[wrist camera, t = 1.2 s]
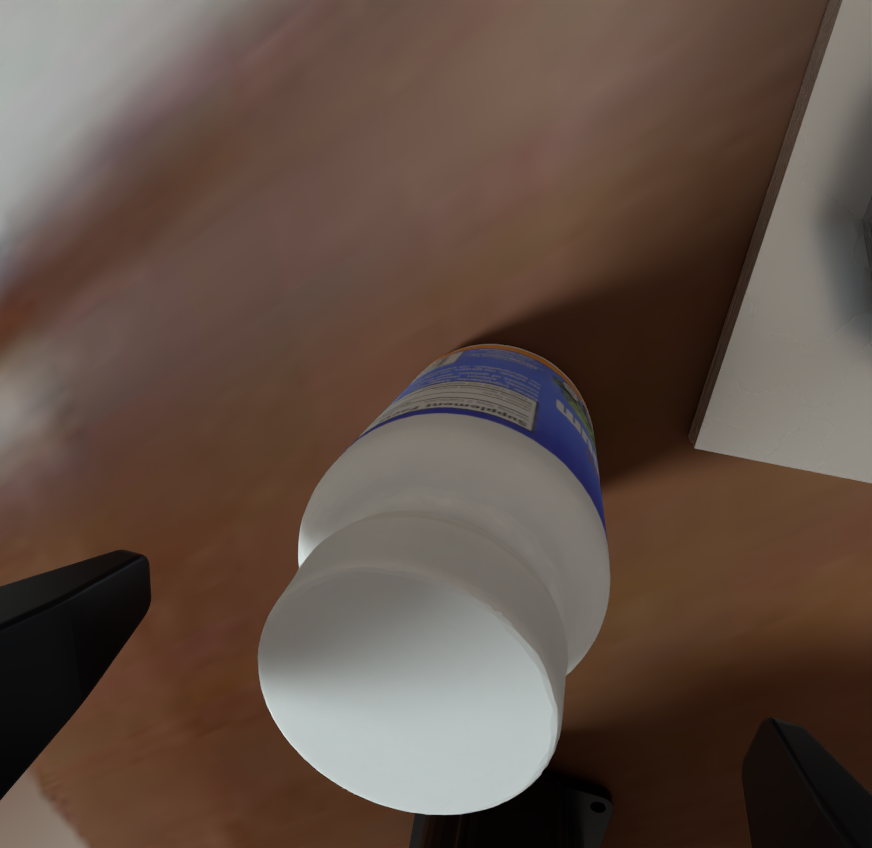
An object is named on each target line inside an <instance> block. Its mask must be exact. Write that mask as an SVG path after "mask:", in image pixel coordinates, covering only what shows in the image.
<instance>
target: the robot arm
mask: <svg viewBox="0 0 872 848" xmlns="http://www.w3.org/2000/svg"><path fill="white" fill-rule="evenodd" d="M150 602H151V586H150V569H149V561H148V559H147V557H146V556H144V555H142V554H139V553H135V552H131V551H127V550H116V551H113V552H110V553H107V554H103V555H100V556H97V557H94V558H90V559H87V560H84V561H81V562H78V563H74V564H71V565H68V566H65V567H62V568H58V569H55V570H52V571H49V572H45V573H42V574H39V575H36V576H33V577H29V578H26V579H23V580H20V581H16V582H13V583H10V584H7V585H4V586H0V800H1V799H2V798H3V797H4V795H5V794H6V793H7V792H8V791H9V789H10V788H11V787H12V786H13V785H14V784H15V783H16V781H17V780H18V779H19V778H20V777H21V776H22V774H23V773H24V772H25V771H26V770H27V768H28V767H29V766H30V765H31V764H32V763H33V761H34V760H35V759H36V758H37V757H38V756H39V754H40V753H41V752H42V751H43V750H44V749H45V747H46V746H47V745H48V744H49V743H50V741H51V740H52V739H53V738H54V737H55V736H56V734H57V733H58V732H59V731H60V730H61V729H62V727H63V726H64V725H65V724H66V723H67V722H68V720H69V719H70V718H71V717H72V716H73V714H74V713H75V712H76V711H77V709H78V708H79V707H80V706H81V704H82V703H83V702H84V701H85V699H86V698H87V697H88V695H89V694H90V693H91V691H92V690H93V689H94V687H95V686H96V684H97V683H98V682H99V680H100V679H101V677H102V676H103V675H104V673H105V672H106V670H107V669H108V667H109V666H110V665H111V663H112V662H113V660H114V659H115V658H116V656H117V655H118V653H119V652H120V651H121V649H122V648H123V646H124V645H125V643H126V642H127V641H128V639H129V638H130V636H131V635H132V634H133V632H134V631H135V629H136V628H137V627H138V625H139V624H140V622H141V621H142V619H143V618H144V617H145V615H146V613H147V611H148V609H149V606H150ZM742 782H743V789H744V796H745V802H746V809H747V816H748V822H749V829H750V836H751V842H752V848H872V794H871V793H870V792H869V791H868V790H867V789H866V788H865V787H864V786H863V785H862V784H861V783H860V782H859V781H858V780H857V779H856V778H855V777H854V776H853V775H852V774H851V773H850V772H849V771H848V770H847V769H846V768H845V767H844V766H843V765H842V764H841V763H840V762H839V761H838V760H837V759H836V758H835V757H834V756H833V755H832V754H831V753H830V752H829V751H828V750H827V749H825V748H824V747H823V746H822V745H821V744H820V743H819V742H818V741H817V740H816V739H815V738H814V737H813V736H812V735H811V734H810V733H809V732H808V731H807V730H806V729H805V728H804V727H803V726H801V725H799V724H797V723H793V722H789V721H786V720H782V719H778V718H774V717H767V718H765V719H764V720H762V722H761V723H760V725H759V727H758V729H757V732H756V734H755V736H754V738H753V740H752V742H751V745H750V747H749V749H748V751H747V753H746V755H745V758H744V760H743V765H742ZM612 813H613V799H612V795H611V793H610V791H608V790H607V789H606V788H604V787H602V786H599V785H595V784H592V783H588V782H585V781H581V780H578V779H574V778H571V777H567V776H564V775H560V774H557V773H553V772H550V771H546V770H543V772H542V774H541V775H540V776H539V777H538V778H537V779H536V780H535V781H534V782H533V783H532V784H531V785H530V786H529V787H528V788H527V789H525V790H524V791H523V792H521V793H520V794H518V795H517V796H515V797H513V798H512V799H510V800H508V801H505V802H503V803H501V804H499V805H497V806H494V807H491V808H488V809H485V810H480V811H476V812H470V813H464V814H455V815H427V814H421V813H415V818H414V824H413V829H412V835H411V840H410V846H409V848H600V846H601V843H602V840H603V837H604V835H605V832H606V829H607V827H608V824H609V821H610V818H611V816H612Z"/></svg>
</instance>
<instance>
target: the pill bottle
mask: <svg viewBox="0 0 872 848" xmlns="http://www.w3.org/2000/svg"><path fill="white" fill-rule="evenodd" d="M298 561H299V570H298V571H297V573H296V575H295V577H294V578H293V580H292V581H291V583H290V584H289V585H288V587H287V588H286V590H285V591H284V592H283V594H282V595H281V596H280V598H279V599H278V601H277V602H276V604H275V605H274V607H273V609H272V610H271V612H270V614H269V615H268V618H267V620H266V623H265V625H264V628H263V631H262V635H261V638H260V644H259V651H258V670H259V678H260V683H261V688H262V692H263V695H264V698H265V701H266V704H267V706H268V709H269V711H270V713H271V715H272V717H273V719H274V721H275V722H276V724H277V725H278V727H279V729H280V730H281V732H282V733H283V735H284V736H285V737H286V739H287V740H288V741H289V743H290V744H291V745H292V746H293V747H294V748H295V749H296V750H297V752H298V753H299V754H300V755H301V756H302V757H303V758H304V759H305V760H306V761H308V762H309V763H310V764H311V765H312V766H313V767H314V768H315V769H316V770H318V771H319V772H320V773H322V774H323V775H324V776H326V777H327V778H329V779H330V780H332V781H333V782H335V783H336V784H338V785H339V786H341V787H343V788H345V789H346V790H348V791H350V792H352V793H354V794H356V795H358V796H360V797H363V798H365V799H367V800H370V801H372V802H374V803H377V804H381V805H384V806H387V807H390V808H394V809H398V810H402V811H407V812H413V813H421V814H427V815H455V814H464V813H470V812H476V811H480V810H485V809H488V808H491V807H494V806H497V805H499V804H501V803H503V802H505V801H508V800H510V799H512V798H513V797H515V796H517V795H518V794H520V793H521V792H523V791H524V790H525V789H527V788H528V787H529V786H530V785H531V784H532V783H533V782H534V781H535V780H536V779H537V778H538V777H539V776H540V775H541V774H542V772H543V770H544V769H545V768H546V767H547V765H548V764H549V761H550V759H551V757H552V755H553V754H554V752H555V749H556V746H557V743H558V740H559V738H560V732H561V725H562V718H563V703H564V692H565V678H566V675H568V674H569V673H570V672H571V671H572V670H573V669H574V668H575V667H576V666H577V664H578V663H579V662H580V661H581V660H582V658H583V657H584V656H585V655H586V653H587V652H588V650H589V649H590V647H591V646H592V644H593V643H594V641H595V639H596V637H597V635H598V633H599V631H600V628H601V626H602V623H603V620H604V617H605V613H606V610H607V605H608V600H609V591H610V565H609V554H608V544H607V536H606V528H605V520H604V511H603V502H602V493H601V488H600V478H599V470H598V461H597V454H596V447H595V437H594V431H593V425H592V422H591V418H590V415H589V412H588V409H587V407H586V404H585V402H584V400H583V398H582V396H581V394H580V393H579V391H578V390H577V388H576V387H575V385H574V384H573V383H572V381H571V380H570V379H569V378H568V377H567V376H566V375H565V374H564V373H563V372H562V371H561V370H560V369H559V368H557V367H556V366H555V365H554V364H552V363H551V362H549V361H548V360H546V359H544V358H543V357H541V356H539V355H537V354H534V353H532V352H529V351H527V350H524V349H521V348H517V347H513V346H508V345H500V344H480V345H473V346H468V347H465V348H461V349H458V350H456V351H453V352H451V353H448V354H446V355H444V356H442V357H440V358H438V359H437V360H435V361H434V362H433V363H432V364H430V365H429V366H428V367H427V368H426V369H425V370H424V371H423V372H421V373H420V374H419V375H418V376H417V378H416V379H415V380H414V381H413V382H412V383H411V384H410V385H409V386H408V387H407V388H406V389H405V390H404V391H403V392H402V393H401V394H400V395H399V396H398V398H397V399H396V400H395V401H394V402H393V403H392V404H391V405H390V406H389V407H388V408H387V409H386V410H385V411H384V412H383V413H382V414H381V415H380V416H379V417H378V418H377V419H376V420H375V421H374V422H373V423H372V424H371V425H370V426H369V427H368V428H367V429H366V430H365V431H364V432H363V433H362V434H361V435H360V436H359V438H358V439H357V440H356V441H355V442H354V443H353V444H352V445H351V446H350V447H349V448H348V449H347V450H346V451H345V452H344V453H343V454H342V455H341V457H340V458H339V459H338V460H337V461H336V462H335V463H334V464H333V465H332V466H331V467H330V469H329V470H328V471H327V472H326V473H325V475H324V476H323V478H322V479H321V481H320V482H319V484H318V485H317V487H316V488H315V490H314V492H313V494H312V496H311V498H310V500H309V503H308V505H307V508H306V510H305V513H304V515H303V518H302V523H301V527H300V535H299V547H298Z"/></svg>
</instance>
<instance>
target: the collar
mask: <svg viewBox="0 0 872 848" xmlns="http://www.w3.org/2000/svg"><path fill="white" fill-rule="evenodd" d="M688 438H689V440H690V442H691V444H692V445H693V447H694V448H695V449H700V450H705V451H710V452H715V453H720V454H726V455H731V456H736V457H741V458H746V459H751V460H756V461H761V462H766V463H771V464H777V465H782V466H787V467H792V468H797V469H802V470H807V471H812V472H817V473H822V474H827V475H833V476H838V477H843V478H848V479H853V480H858V481H863V482H868V483H872V0H829V2H828V5H827V8H826V11H825V14H824V17H823V20H822V24H821V27H820V30H819V33H818V36H817V39H816V42H815V45H814V48H813V51H812V54H811V58H810V61H809V64H808V67H807V70H806V73H805V76H804V79H803V82H802V85H801V88H800V92H799V95H798V98H797V101H796V104H795V107H794V110H793V113H792V116H791V119H790V122H789V125H788V129H787V132H786V135H785V138H784V141H783V144H782V147H781V150H780V153H779V156H778V159H777V163H776V166H775V169H774V172H773V175H772V178H771V181H770V184H769V187H768V190H767V193H766V197H765V200H764V203H763V206H762V209H761V212H760V215H759V218H758V221H757V224H756V227H755V230H754V234H753V237H752V240H751V243H750V246H749V249H748V252H747V255H746V258H745V261H744V264H743V268H742V271H741V274H740V277H739V280H738V283H737V286H736V289H735V292H734V295H733V298H732V301H731V305H730V308H729V311H728V314H727V317H726V320H725V323H724V326H723V329H722V332H721V335H720V339H719V342H718V345H717V348H716V351H715V354H714V357H713V360H712V363H711V366H710V369H709V373H708V376H707V379H706V382H705V385H704V388H703V391H702V394H701V397H700V400H699V403H698V406H697V410H696V413H695V416H694V419H693V422H692V425H691V428H690V431H689V434H688Z"/></svg>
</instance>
